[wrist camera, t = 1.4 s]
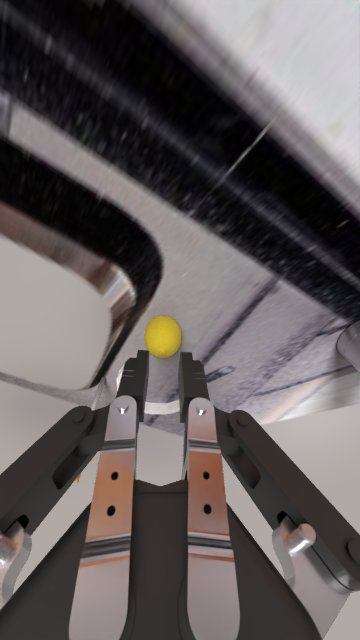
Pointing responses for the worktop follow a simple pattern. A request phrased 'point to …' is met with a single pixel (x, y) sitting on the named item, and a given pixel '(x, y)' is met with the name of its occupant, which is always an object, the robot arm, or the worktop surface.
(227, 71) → the worktop surface
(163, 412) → the white arc
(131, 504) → the robot arm
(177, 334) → the lemon
